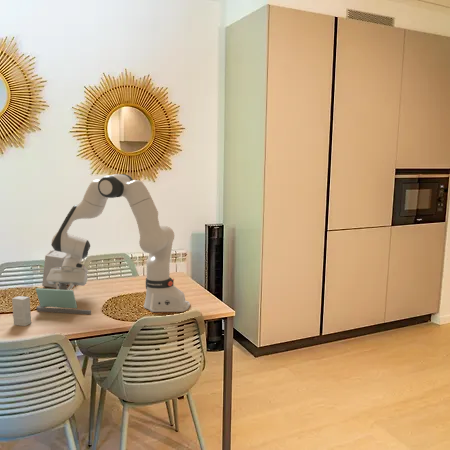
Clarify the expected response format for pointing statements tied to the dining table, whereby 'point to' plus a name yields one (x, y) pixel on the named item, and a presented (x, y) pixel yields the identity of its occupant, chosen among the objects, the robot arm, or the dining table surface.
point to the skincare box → (21, 310)
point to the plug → (63, 286)
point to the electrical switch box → (52, 264)
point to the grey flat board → (63, 310)
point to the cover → (56, 298)
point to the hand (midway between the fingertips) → (62, 291)
